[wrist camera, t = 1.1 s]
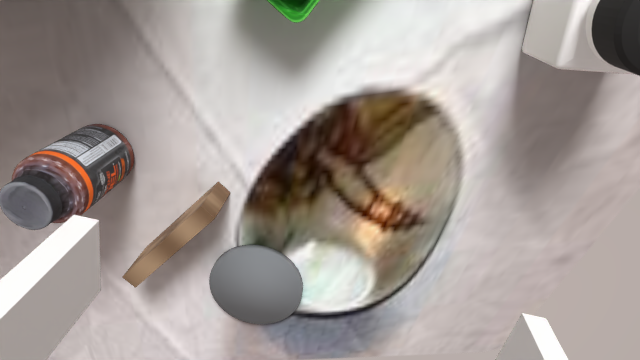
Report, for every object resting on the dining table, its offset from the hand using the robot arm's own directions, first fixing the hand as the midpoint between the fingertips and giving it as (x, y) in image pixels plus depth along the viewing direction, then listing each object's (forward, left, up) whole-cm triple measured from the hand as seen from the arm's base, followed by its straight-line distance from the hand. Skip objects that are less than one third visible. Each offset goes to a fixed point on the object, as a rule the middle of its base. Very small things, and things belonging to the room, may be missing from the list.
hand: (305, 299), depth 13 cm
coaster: (+2, -23, -26) cm, 35 cm away
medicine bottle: (+13, +14, -27) cm, 33 cm away
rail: (-8, -19, -26) cm, 34 cm away
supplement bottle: (-17, -16, -27) cm, 35 cm away
